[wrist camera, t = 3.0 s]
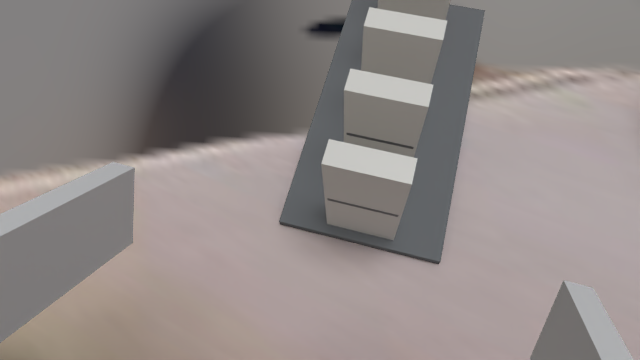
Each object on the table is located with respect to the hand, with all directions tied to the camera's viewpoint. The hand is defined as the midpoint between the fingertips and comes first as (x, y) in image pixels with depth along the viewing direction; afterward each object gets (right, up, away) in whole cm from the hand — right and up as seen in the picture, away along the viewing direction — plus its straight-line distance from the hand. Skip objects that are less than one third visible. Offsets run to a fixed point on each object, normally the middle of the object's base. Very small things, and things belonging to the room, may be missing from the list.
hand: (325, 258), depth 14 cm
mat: (+6, +8, +25) cm, 27 cm away
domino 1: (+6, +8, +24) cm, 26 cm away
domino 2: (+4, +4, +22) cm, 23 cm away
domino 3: (+3, -1, +21) cm, 21 cm away
